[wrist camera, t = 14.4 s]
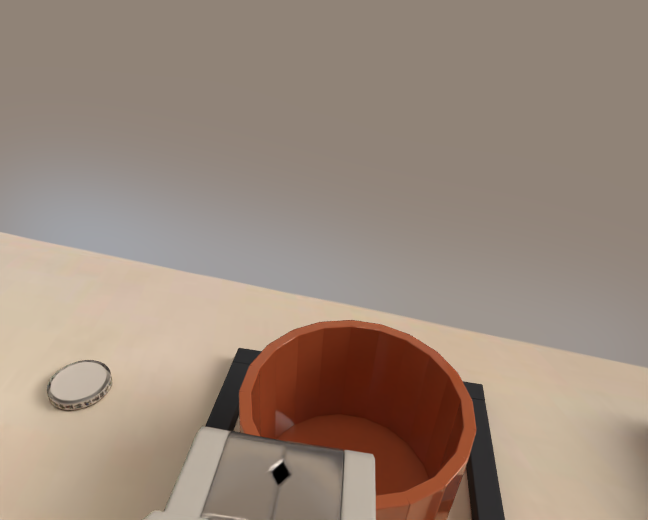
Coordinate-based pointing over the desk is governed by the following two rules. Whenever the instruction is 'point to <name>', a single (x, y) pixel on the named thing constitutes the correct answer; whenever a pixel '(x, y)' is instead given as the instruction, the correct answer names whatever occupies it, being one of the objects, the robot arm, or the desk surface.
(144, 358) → the desk surface
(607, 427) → the desk surface
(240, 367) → the bay
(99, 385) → the grey flat disc
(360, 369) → the cup
